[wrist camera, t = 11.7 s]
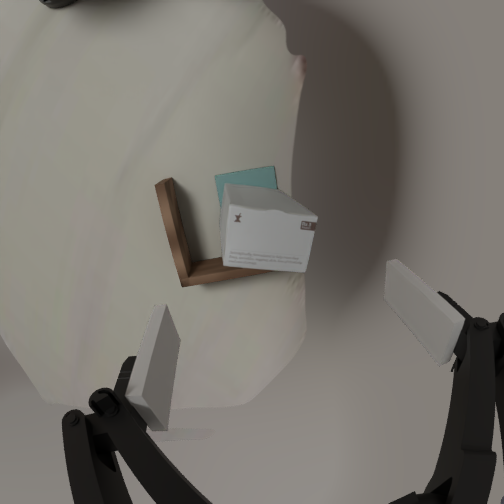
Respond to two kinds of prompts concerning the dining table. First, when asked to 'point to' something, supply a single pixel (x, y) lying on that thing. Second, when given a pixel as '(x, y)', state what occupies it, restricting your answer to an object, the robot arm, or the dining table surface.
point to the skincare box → (265, 229)
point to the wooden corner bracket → (185, 267)
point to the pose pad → (247, 179)
